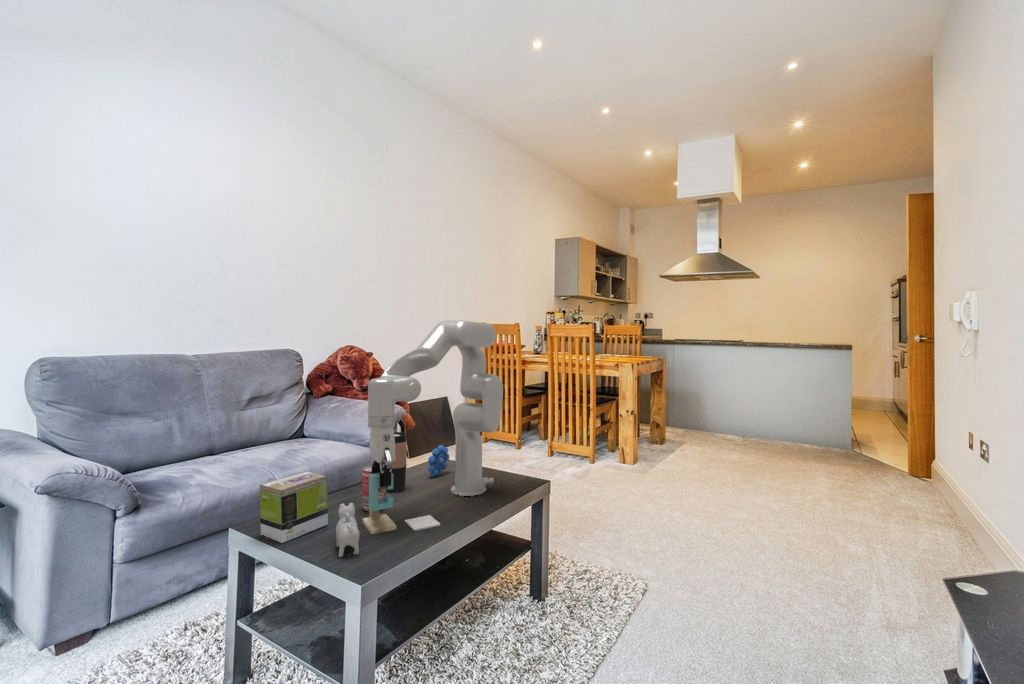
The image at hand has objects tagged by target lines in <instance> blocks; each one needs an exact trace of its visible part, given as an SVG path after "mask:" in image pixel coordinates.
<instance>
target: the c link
mask: <svg viewBox="0 0 1024 684" xmlns="http://www.w3.org/2000/svg"><path fill="white" fill-rule="evenodd" d="M378 488H380V486H379V473H374V474H369V508H370V509H371V510H372V511H376V510H379V511H381V510H386V509H392V508H394V497H392V496H391V494H387V495H386V494H385V496H384V499H382V500H378ZM385 488H387V489H388V490H389V489H393V474H392V473H391V486H386V487H385Z"/></svg>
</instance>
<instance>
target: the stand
mask: <svg viewBox="0 0 1024 684" xmlns="http://www.w3.org/2000/svg"><path fill="white" fill-rule="evenodd" d="M379 491H380V492H381V493H385V494H386V493H387V492H386V488H385V487H380V488H378V500H379ZM362 524H363V525H364V526H365V528H366V529H367V531H369V533H370V534H371V535H375V534H381V533H387V532H391V531H395V530H397V524H396V523H395V522H394V521H393V520H392V519H391V518H390V517H389V516H388V515H387V514H386V513H384V514H380V510H376V511H372V510H371V509H370V508H369V512H368V517H364V518H363V517H362Z"/></svg>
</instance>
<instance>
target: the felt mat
mask: <svg viewBox="0 0 1024 684" xmlns="http://www.w3.org/2000/svg"><path fill="white" fill-rule="evenodd" d="M404 523H405V524H406V525H407V526H409V528H410V529H412V531H414V532H417V531H421V530H425V529H431V528H434V527H440V526H441V523H440V522H439V521H438V520H436V519H435V518H434V517H433V516H432V515H430V514H428V515H424V516H418V517H414V518H408V519H404Z"/></svg>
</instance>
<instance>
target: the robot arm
mask: <svg viewBox="0 0 1024 684" xmlns="http://www.w3.org/2000/svg"><path fill="white" fill-rule="evenodd" d="M496 333H497V332H496V330H495V328H494V327H493V325H492V324H490V323H489V322H488V323H486V322H481V321H472V320H471V321H469V320H442V321H440V322H438V323H437V324H436V325H435V326H434V327H433V329H432V330H431V331H430V332H429V333H428V335H427V336H426V337H424V339H423V340H422V342H420V344H419V345H418V346H417V347H416V348H415V349H413V350H411V351H409V352H407V353H405V354H403V355H402V356H401V357H399V358H397V359H396V360H395V361H393V362H392V363H391V364H390V365H389V366H388V367H387V368H386V369H385V370H384V372H383V373H382V374H381V375H380V377H378V378H377V377H376V378H372V379H370V380H369V381H368V386H367V427H368V428H369V429H370V431H369V432H370V433H369V455H370V457H371V466H372V474H374V473H379V486H380V487H386V486H391V471H392V470H391V467H392V466H391V465H392V462H394V461H395V437H394V432H395V430H394V429H395V428H394V427H395V426H396V403H397V402H401V403H402V402H405V403H407V402H412V401H415V400H417V399H418V397H419V396H420V395H421V391H422V384H421V383H420V381H419V380H418V379H416V378H415V377H414V376H413V375H414V374H417V373H420V372H423V371H428V370H430V369H432V368H435V367H437V366H438V365H439V364H440V362H441V361H442V360H443V359H444V357H445V356H446V355H447V353H448V352H450V350H451V349H452V348H453V347H457V349H458V350H459V352H460V354H461V358H462V362H461V363H462V364H461V377H460V385H459V387H460V388H459V390H460V391H459V392H460V394H461V396H462V397H463V398H465V399H470V400H478V401H482V403H478V402H477V403H475V402H474V403H473V402H462V403H459V404H458V405H457V406H455V407H454V409H453V413H452V420H453V421H452V423H453V425H454V426H453V427H454V435H455V436H454V437H455V456H454V457H455V458H454V459H455V461H454V463H455V464H454V465H455V466H454V467H455V471H454V473H455V474H454V475H455V477H454V483H455V484H453V485H452V486H451V487H450V492H451V494H453V495H454V494H455V495H454V496H457V495H459V496H458V497H464V496H471V497H475V496H474V495H478V494H481V493H483V492H485V491H486V492H487V486H486V485H488V484H489V485H490V484H494V483H495V480H494V477H487V476H486V477H483V439H482V436H481V434H480V432H481V433H487V434H490V433H491V434H492V433H494V432H495V431H496V430H497V429H498V428H499V426H500V423H501V417H502V407H503V406H502V405H503V396H504V386H503V381H502V379H501V378H500V376H499V375H497V374H494V373H486V370H487V358H486V355H485V352H484V351H483V350H484V349H486V348H487V349H488V348H490V347H491V346H493V345H494V343H495V341H496V339H497V338H496V337H497V334H496ZM483 348H484V349H483ZM412 376H413V377H412ZM384 460H386V461H384ZM384 464H386V465H384ZM486 492H485V493H486ZM481 495H482V494H481ZM478 496H479V495H478Z"/></svg>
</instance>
